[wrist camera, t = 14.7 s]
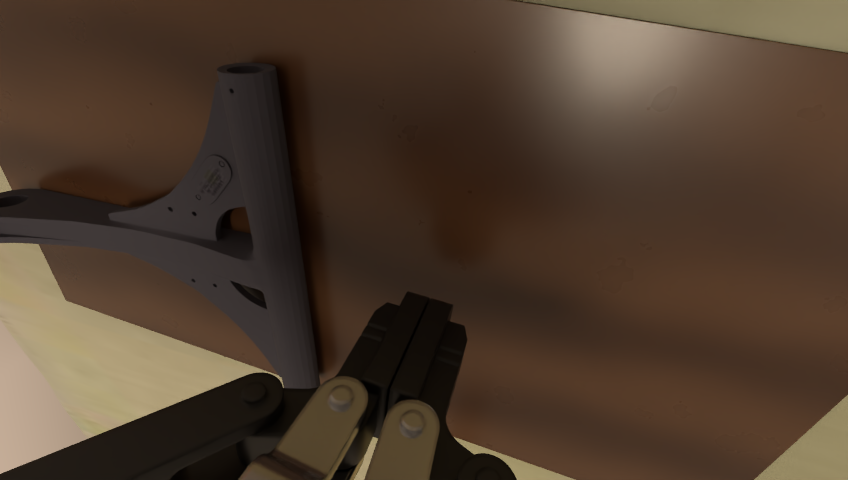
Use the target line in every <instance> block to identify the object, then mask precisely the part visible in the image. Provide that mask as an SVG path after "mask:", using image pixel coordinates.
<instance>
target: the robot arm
mask: <svg viewBox="0 0 848 480" xmlns="http://www.w3.org/2000/svg"><path fill="white" fill-rule="evenodd" d="M452 311H453V304H450V303H446V302H443V301H440V300H436V299H433V298H431V299H430V298H429V297H426V296H423V295H419V294H416V293H413V292H409V291H408V292H407V293H406V294H405V296H404V298H403V300H402V302H401V304H400V306H398V305H395V304H392V303H389V302H387V303H385V304H384V305H383V306H381V307H380V308H378V309H377V310H375V311H374V313H373V315H372V317H371V318H370V320H369V322H368V324H367V326H366V327H365V328H364V330H363V332H362V334H361V336H360V337H359V338H358V340H357V342H356V344H355V345H354V347H353V349H352V350H351V352H350V354H349V355H348V357H347V359H346V360H345V362H344V364H343V366H342V367H341V369H340V371H339V372H338V374H337V375H336V376H335V377H333V378H331V379H328V380H327V381H325V382H324V383H322V384H321V385H320V386H319V387H316V388H310V389H297V388H283V386H282V383H281V382H280V380H279V379H278V378H277V377H275V376H274V375H271V374H268V373H253V374H249V375H246V376H244V377H241V378H239V379H236V380H234V381H231V382H229V383H226V384H224V385H221V386H219V387H216V388H214V389H211V390H209V391H206V392H204V393H201V394H199V395H196V396H194V397H191V398H189V399H186V400H184V401H181V402H179V403H176V404H174V405H171V406H169V407H166V408H164V409H161V410H159V411H156V412H154V413H151V414H149V415H146V416H144V417H141V418H139V419H136V420H134V421H131V422H129V423H126V424H124V425H121V426H119V427H116V428H114V429H111V430H109V431H106V432H104V433H101V434H99V435H96V436H94V437H91V438H89V439H86V440H84V441H81V442H79V443H77V444H74V445H71V446H69V447H67V448H64V449H61V450H59V451H56V452H54V453H52V454H49V455H47V456H44V457H42V458H39V459H37V460H34V461H32V462H29V463H27V464H24V465H22V466H19V467H17V468H14V469H12V470H9V471H7V472H4V473H2V474H0V480H354V478H355V477H356V475H357V473H358V471H359V469H360V467H361V465H362V463H363V460H364V455H365V453H366V451H367V449H368V446H369V444H370V442H371V440H372V437H376V438H378V441H377V444H376V447H375V450H374V453H373V456H372V459H371V462H370V465H369V468H368V470H367V473H366V476H365V479H364V480H517V479H516V477H515V475H514V473H513V472H512V470H511V469H510V467H509V466H508V465H507V464H506V463H505V462H504V461H502V460H501V459H500V458H498V457H496V456H494V455H490V454H485V453H481V454H475V455H474V454H472V453H471V452H470V451H468V450H467V449H466V448H465V447H463V446H462V445H461V444H460V443H458V442H457V441H456V440H455V438H454V437H453V436H452V434H451V433H450V431H449V429H448V426H447V423H446V415H447V412H448V409H449V405H450V402H451V398H452V395H453V392H454V388H455V385H456V382H457V378H458V375H459V372H460V368H461V364H462V360H463V356H464V352H465V348H466V344H467V340H468V339H467V335H466V330H465V326H464V325H461V324H457V323H454V322H451V321H450V320H451V315H452Z"/></svg>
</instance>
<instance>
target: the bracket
mask: <svg viewBox="0 0 848 480" xmlns="http://www.w3.org/2000/svg"><path fill="white" fill-rule="evenodd" d="M217 74H218V79H219V81H218V82H216V84H215V88H214V94H213V100H212V106H211V111H210V116H209V121H208V125H207V129H206V133H205V136H204V139H203V142H202V145H201V147H200V150H199V152H198V154H197V156H196V158H195V160H194V162H193V164H192V166H191V168H190V169H189V171H188V172H187V174H186V175H185V176H184V178H183V179H182V180H181V181H180V183H179V184H178V185H177V186H176V187H175V188H174V189H173V190H172V192H171V193H169V194H168V195H166V196H164V197H162V198H160V199H158V200H156V201H154V202H152V203H149V204H146V205H143V206H139V207H133V208H128V207H123V206H119V205H114V204H110V203H105V202H100V201H96V200H91V199H86V198H81V197H77V196H72V195H67V194H63V193H58V192H53V191H48V190H43V189H30V188H29V189H17V190H11V191H7V192H2V193H0V243H33V244H49V245H64V246H80V247H90V248H97V249H103V250H110V251H117V252H124V253H128V254H130V255H132V256H135V257H137V258H139V259H141V260H143V261H146V262H148V263H150V264H152V265H154V266H156V267H158V268H160V269H162V270H164V271H165V272H167V273H169V274H171V275H172V276H174V277H176V278H177V279H179V280H181V281H182V282H184V283H186V284H187V285H189V286H191V287H192V288H194V289H195V290H197V291H198V292H200V293H201V294H202V295H203V296H205V297H206V298H207V299H208V300H209V301H210V302H212V303H213V304H214V305H215V306H217V307H218V308H219V309H220V310H221V311H222V312H224V313H225V314H226V315H227V316H228V317H229V318H230V319H231V320H232V321H233V322H234V323H236V324H237V325H238V326H239V327H240V328H241V329H242V330H243V332H244V333H245V334H246V335H247V336H248V337H249V338H250V339H251V340H252V341H253V342H254V344H255V345H256V346H257V347H258V348H259V350H260V351H261V352H262V353H263V355H264V356H265V357H266V359H267V360H268V361H269V363H270V364H271V365H272V367H273V368H274V370H275V371H276V372H277V374H278V375H279V376H280V377H282V380H283V385H284V388H297V389H310V388H316V387H319V386H320V378H319V370H318V363H317V356H316V349H315V342H314V335H313V328H312V320H311V313H310V306H309V299H308V292H307V285H306V278H305V271H304V263H303V256H302V249H301V242H300V235H299V228H298V221H297V214H296V206H295V199H294V192H293V185H292V178H291V171H290V164H289V157H288V149H287V142H286V135H285V128H284V121H283V114H282V107H281V99H280V92H279V85H278V78H277V71H276V67H275V66H273V65H270V64H264V63H234V64H227V65H222V66H220V67H218V68H217ZM238 207H246V210H247V215H248V220H249V225H250V230H251V234H250V233H245V232H240V231H235V230H231V229H226V228H222V227H221V222H222V218H223V216H224V214H225V213H226V212H227V211H228V210H230V209H233V208H238ZM242 285H244V286H247V287H250V288H255V289H258V290H260V291H262V292H263V294H264V298H265V301H266V302H264V301H261V300H260V299H258V298H256V297H254V296H253V295H252V294H250V293H249V292H248V291H247V290H246V289H244V288H243V287H242Z"/></svg>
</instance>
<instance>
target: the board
mask: <svg viewBox="0 0 848 480" xmlns="http://www.w3.org/2000/svg"><path fill="white" fill-rule="evenodd" d="M234 63H264V64H270V65H273V66H275V67H276V71H277V78H278V85H279V92H280V99H281V107H282V114H283V121H284V128H285V135H286V142H287V149H288V157H289V164H290V171H291V178H292V185H293V192H294V199H295V206H296V214H297V221H298V228H299V235H300V242H301V249H302V256H303V263H304V271H305V278H306V285H307V292H308V299H309V306H310V313H311V320H312V328H313V335H314V342H315V349H316V356H317V363H318V370H319V378H320V385H321V384H322V383H324V382H325V381H327V380H328V379H331V378H333V377H335V376H336V375H337V374H338V372H339V371H340V369H341V367H342V366H343V364H344V362H345V360H346V359H347V357H348V355H349V354H350V352H351V350H352V349H353V347H354V345H355V344H356V342H357V340H358V338H359V337H360V336H361V334H362V332H363V330H364V328H365V327H366V326H367V324H368V322H369V320H370V318H371V317H372V315H373V313H374V311H375V310H377V309H378V308H380V307H381V306H383V305H384V304H385V303H387V302H389V303H392V304H395V305H398V306H400V304H401V302H402V300H403V298H404V296H405V294H406V293H407V292H408V291H409V292H413V293H416V294H419V295H423V296H426V297H429V298H430V299H431V298H433V299H436V300H440V301H443V302H446V303H450V304H453V311H452V315H451V320H450V321H451V322H454V323H457V324H461V325H464V326H465V330H466V335H467V339H468V340H467V344H466V348H465V352H464V356H463V360H462V364H461V368H460V372H459V375H458V378H457V382H456V385H455V388H454V392H453V395H452V398H451V402H450V405H449V409H448V412H447V415H446V423H447V426H448V429H449V431H450V433H451V434H452V436H453V437H456V438H459V439H462V440H465V441H468V442H470V443H473V444H476V445H479V446H482V447H485V448H487V449H490V450H493V451H496V452H499V453H502V454H505V455H507V456H510V457H513V458H516V459H519V460H522V461H524V462H527V463H530V464H533V465H536V466H539V467H542V468H544V469H547V470H550V471H553V472H556V473H559V474H561V475H564V476H567V477H570V478H573V479H576V480H754V479H755V478H756V477H757V476H758V475H759V474H761V473H762V472H763V471H764V470H765V469H766V468H767V467H768V466H769V465H771V464H772V463H773V462H774V461H775V460H776V459H777V458H778V457H779V456H780V455H782V454H783V453H784V452H785V451H786V450H787V449H788V448H789V447H790V446H791V445H793V444H794V443H795V442H796V441H797V440H798V439H799V438H800V437H801V436H803V435H804V434H805V433H806V432H807V431H808V430H809V429H810V428H811V427H812V426H814V425H815V424H816V423H817V422H818V421H819V420H820V419H821V418H822V417H823V416H825V415H826V414H827V413H828V412H829V411H830V410H831V409H832V408H833V407H835V406H836V405H837V404H838V403H839V402H840V401H841V400H842V399H843V398H844V397H846V396H847V395H848V53H843V52H836V51H830V50H824V49H817V48H811V47H805V46H799V45H792V44H786V43H780V42H773V41H767V40H761V39H754V38H748V37H742V36H736V35H729V34H723V33H717V32H710V31H704V30H698V29H691V28H685V27H679V26H673V25H666V24H660V23H654V22H647V21H641V20H635V19H628V18H622V17H616V16H609V15H603V14H597V13H591V12H584V11H578V10H572V9H565V8H559V7H553V6H546V5H540V4H534V3H528V2H521V1H515V0H0V166H1V168H2V170H3V172H4V174H5V176H6V178H7V180H8V182H9V184H10V186H11V188H12V190H17V189H29V188H30V189H43V190H48V191H53V192H58V193H63V194H67V195H72V196H77V197H81V198H86V199H91V200H96V201H100V202H105V203H110V204H114V205H119V206H123V207H128V208H133V207H139V206H143V205H146V204H149V203H152V202H154V201H156V200H158V199H160V198H162V197H164V196H166V195H168V194H169V193H171V192H172V190H173V189H174V188H175V187H176V186H177V185H178V184H179V183H180V181H181V180H182V179H183V178H184V176H185V175H186V174H187V172H188V171H189V169H190V168H191V166H192V164H193V162H194V160H195V158H196V156H197V154H198V152H199V150H200V147H201V145H202V142H203V139H204V136H205V133H206V129H207V125H208V121H209V116H210V111H211V106H212V100H213V94H214V88H215V84H216V82H218V81H219V79H218V74H217V68H218V67H220V66H222V65H227V64H234ZM221 227H222V228H226V229H231V230H235V231H240V232H245V233H250V234H251V230H250V225H249V220H248V215H247V210H246V207H238V208H233V209H230V210H228V211H227V212H226V213H225V214H224V216H223V218H222V222H221ZM39 246H40V248H41V250H42V252H43V254H44V256H45V258H46V260H47V262H48V264H49V266H50V268H51V270H52V273H53V275H54V277H55V279H56V281H57V283H58V285H59V287H60V289H61V291H62V293H63V295H64V297H65V299H66V301H69V302H72V303H75V304H78V305H81V306H83V307H86V308H89V309H92V310H95V311H98V312H100V313H103V314H106V315H109V316H112V317H115V318H118V319H120V320H123V321H126V322H129V323H132V324H135V325H137V326H140V327H143V328H146V329H149V330H152V331H155V332H157V333H160V334H163V335H166V336H169V337H172V338H174V339H177V340H180V341H183V342H186V343H189V344H192V345H194V346H197V347H200V348H203V349H206V350H209V351H211V352H214V353H217V354H220V355H223V356H226V357H229V358H231V359H234V360H237V361H240V362H243V363H246V364H248V365H251V366H254V367H257V368H260V369H263V370H266V371H268V372H271V373H274V374H277V372H276V371H275V370H274V368H273V367H272V365H271V364H270V363H269V361H268V360H267V359H266V357H265V356H264V355H263V353H262V352H261V351H260V350H259V348H258V347H257V346H256V345H255V344H254V342H253V341H252V340H251V339H250V338H249V337H248V336H247V335H246V334H245V333H244V332H243V330H242V329H241V328H240V327H239V326H238V325H237V324H236V323H234V322H233V321H232V320H231V319H230V318H229V317H228V316H227V315H226V314H225V313H224V312H222V311H221V310H220V309H219V308H218V307H217V306H215V305H214V304H213V303H212V302H210V301H209V300H208V299H207V298H206V297H205V296H203V295H202V294H201V293H200V292H198V291H197V290H195V289H194V288H192V287H191V286H189V285H187V284H186V283H184V282H182V281H181V280H179V279H177V278H176V277H174V276H172V275H171V274H169V273H167V272H165V271H164V270H162V269H160V268H158V267H156V266H154V265H152V264H150V263H148V262H146V261H143V260H141V259H139V258H137V257H135V256H132V255H130V254H128V253H124V252H117V251H110V250H103V249H97V248H90V247H80V246H64V245H49V244H39ZM242 287H243V288H244V289H246V290H247V291H248V292H249V293H250V294H252V295H253V296H254V297H256V298H258V299H260V300H261V301H264V302H266V301H265V298H264V294H263V292H262V291H260V290H258V289H255V288H250V287H247V286H244V285H242ZM277 375H278V374H277Z"/></svg>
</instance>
